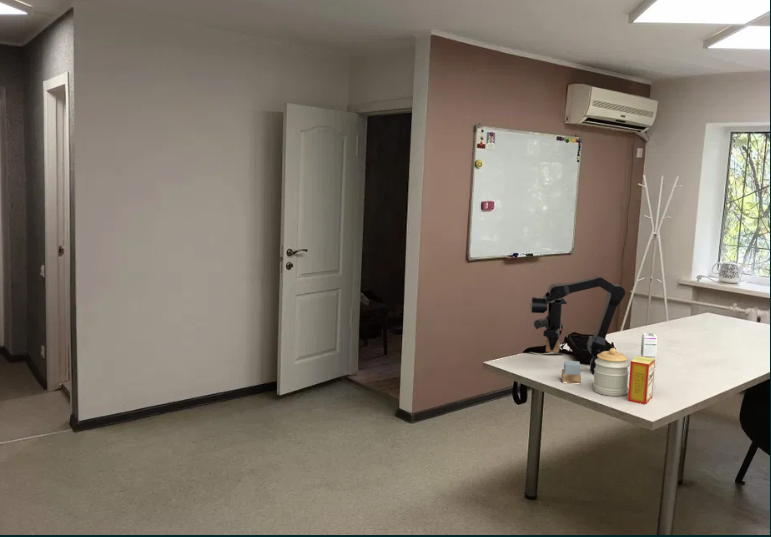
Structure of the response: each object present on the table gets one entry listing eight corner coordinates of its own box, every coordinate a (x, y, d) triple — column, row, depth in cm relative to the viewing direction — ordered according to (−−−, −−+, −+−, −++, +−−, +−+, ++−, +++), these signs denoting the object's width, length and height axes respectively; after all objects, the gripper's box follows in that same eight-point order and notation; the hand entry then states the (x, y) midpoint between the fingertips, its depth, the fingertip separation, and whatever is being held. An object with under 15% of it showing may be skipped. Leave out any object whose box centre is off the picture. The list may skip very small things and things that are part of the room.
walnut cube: (547, 348, 280) (548, 337, 279) (559, 350, 278) (559, 339, 277) (545, 351, 275) (546, 340, 274) (557, 353, 273) (558, 341, 272)
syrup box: (655, 368, 283) (658, 336, 281) (641, 367, 284) (644, 335, 282) (653, 364, 288) (655, 333, 286) (639, 363, 290) (641, 332, 287)
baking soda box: (645, 404, 238) (648, 363, 236) (627, 400, 242) (630, 360, 239) (652, 397, 246) (655, 357, 243) (634, 394, 249) (637, 354, 247)
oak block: (578, 379, 267) (579, 370, 267) (580, 384, 261) (580, 375, 260) (561, 378, 269) (561, 369, 268) (562, 383, 262) (563, 374, 261)
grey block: (578, 370, 266) (579, 361, 266) (580, 375, 260) (580, 365, 260) (563, 369, 267) (564, 360, 267) (564, 374, 262) (565, 364, 261)
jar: (600, 383, 261) (602, 342, 259) (632, 390, 253) (635, 347, 251) (587, 391, 252) (590, 348, 249) (620, 399, 243) (623, 354, 241)
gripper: (539, 307, 285) (537, 341, 288) (532, 316, 268) (530, 351, 271) (564, 309, 281) (562, 344, 283) (559, 318, 264) (557, 354, 266)
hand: (552, 348), depth 276 cm, fingers closed on walnut cube, 5 cm apart
